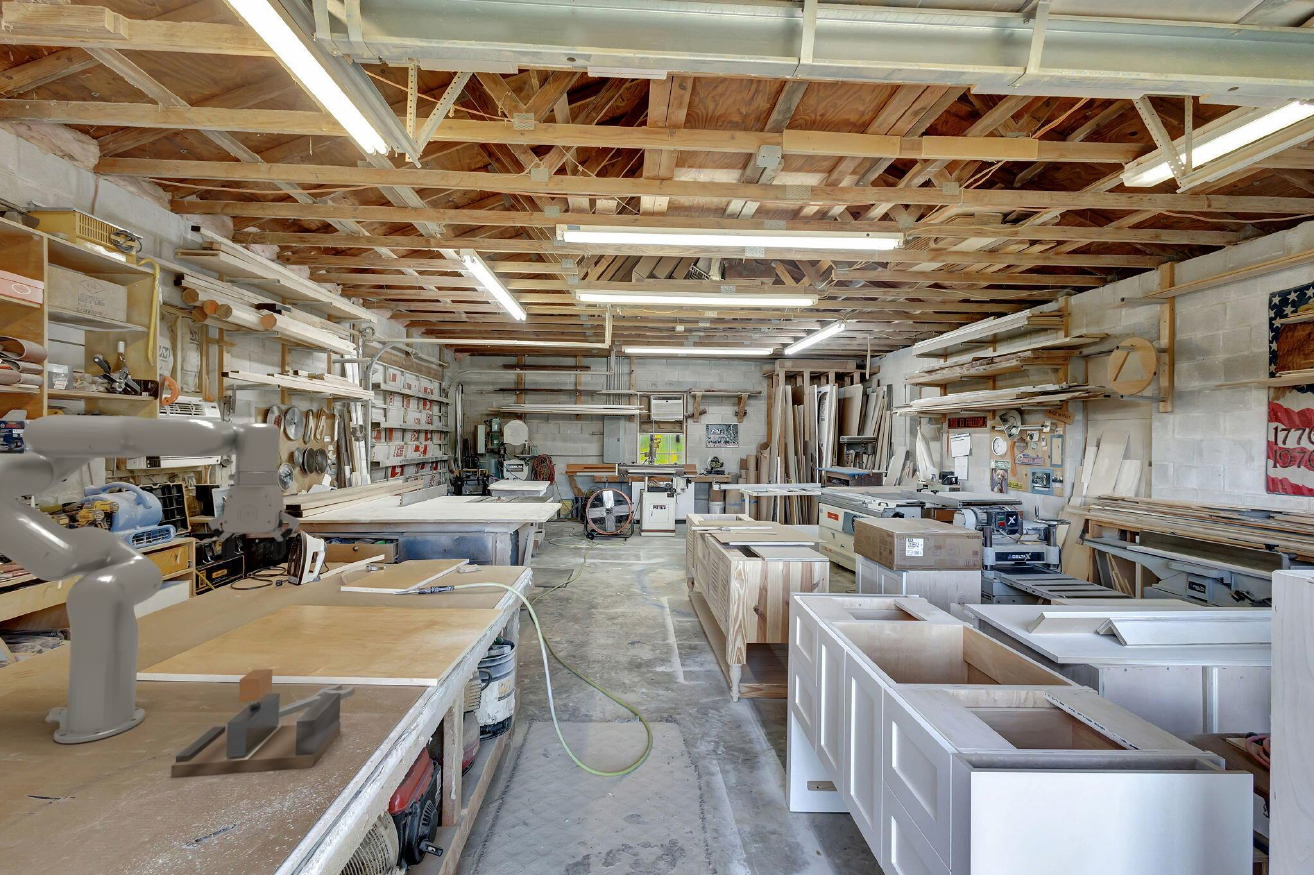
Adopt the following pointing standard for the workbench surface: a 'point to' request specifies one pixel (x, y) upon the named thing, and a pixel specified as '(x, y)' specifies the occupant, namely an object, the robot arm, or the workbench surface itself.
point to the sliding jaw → (253, 713)
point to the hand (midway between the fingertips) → (253, 559)
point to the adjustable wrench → (314, 699)
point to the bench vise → (266, 745)
